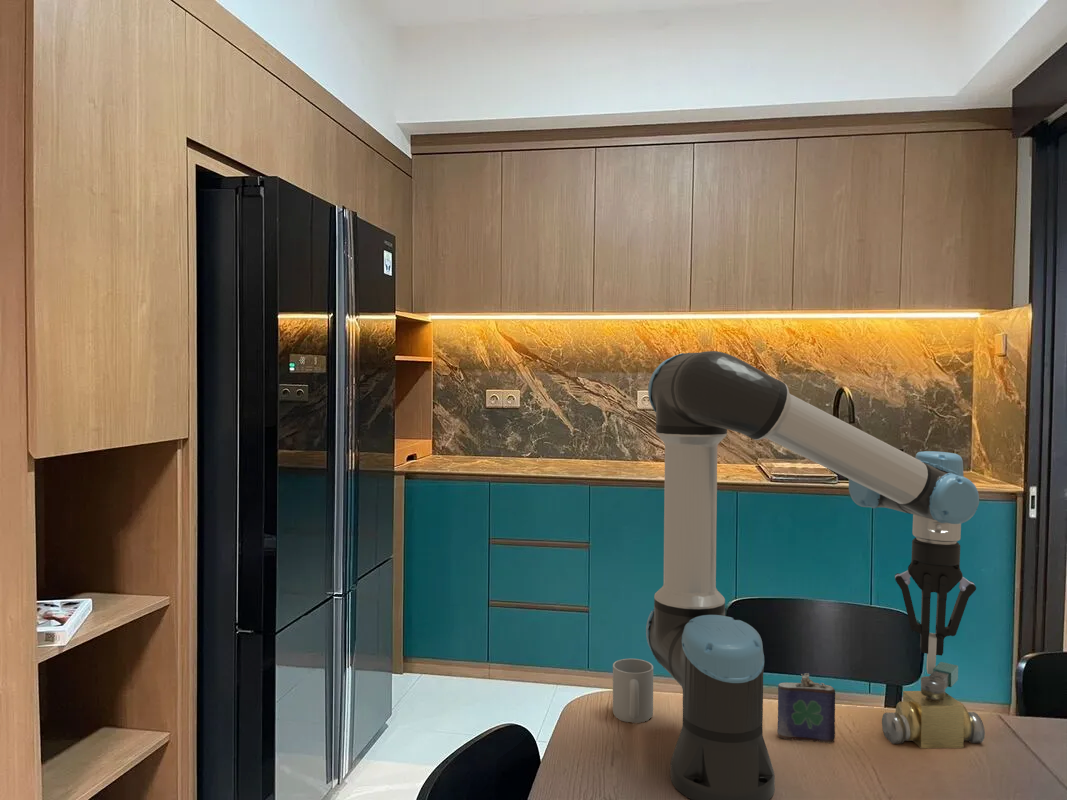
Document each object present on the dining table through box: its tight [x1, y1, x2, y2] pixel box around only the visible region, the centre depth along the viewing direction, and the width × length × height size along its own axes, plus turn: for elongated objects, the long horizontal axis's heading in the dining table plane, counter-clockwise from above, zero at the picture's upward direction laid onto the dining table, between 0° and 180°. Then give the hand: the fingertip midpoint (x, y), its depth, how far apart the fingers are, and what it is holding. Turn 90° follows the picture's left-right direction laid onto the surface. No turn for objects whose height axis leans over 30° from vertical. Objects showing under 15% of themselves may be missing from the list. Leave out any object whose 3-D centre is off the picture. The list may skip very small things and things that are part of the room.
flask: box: [777, 672, 836, 744], centre depth 128 cm, size 9×3×11 cm, turn 79°
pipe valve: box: [881, 690, 986, 749], centre depth 127 cm, size 15×6×8 cm, turn 91°
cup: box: [612, 658, 654, 724], centre depth 136 cm, size 7×10×9 cm
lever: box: [920, 661, 959, 698], centre depth 130 cm, size 12×4×2 cm, turn 137°
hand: (930, 671), depth 135 cm, fingers closed
